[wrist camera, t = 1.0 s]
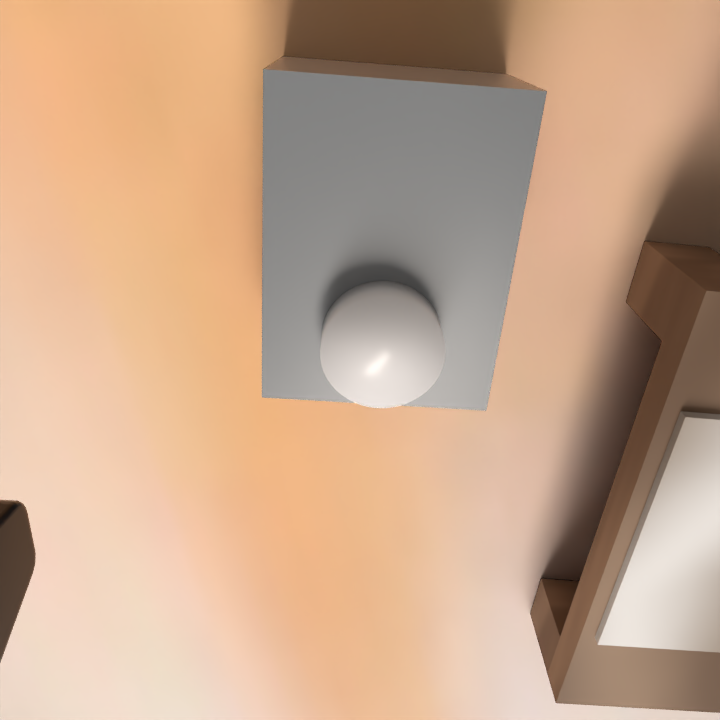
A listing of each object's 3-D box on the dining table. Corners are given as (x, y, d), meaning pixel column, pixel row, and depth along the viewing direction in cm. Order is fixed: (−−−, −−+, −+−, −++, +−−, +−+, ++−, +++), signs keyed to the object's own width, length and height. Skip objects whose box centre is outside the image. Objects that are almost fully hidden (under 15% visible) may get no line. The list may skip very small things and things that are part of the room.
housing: (504, 73, 18) (559, 97, 13) (462, 337, 22) (493, 431, 17) (283, 55, 18) (257, 73, 13) (279, 325, 22) (256, 418, 17)
